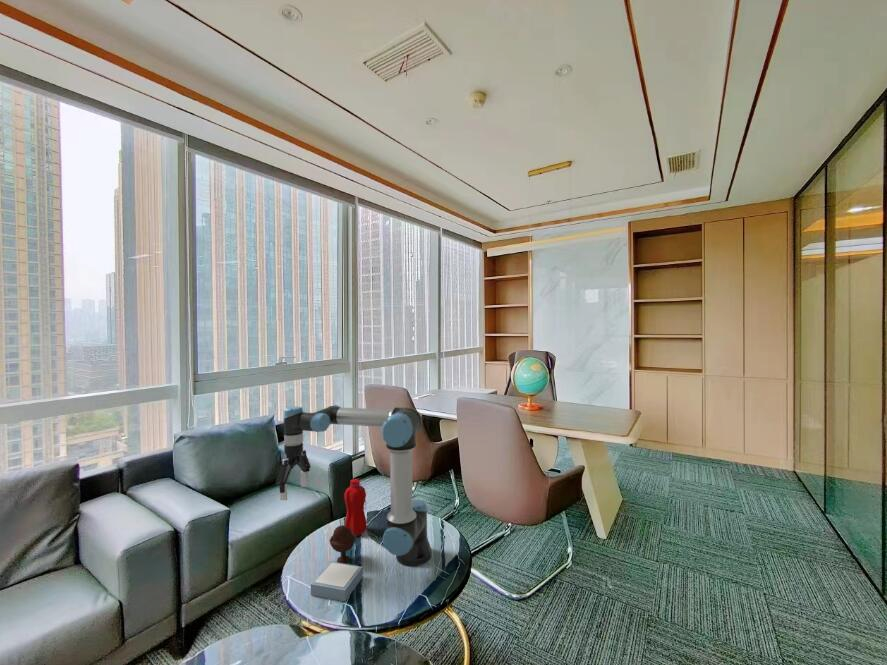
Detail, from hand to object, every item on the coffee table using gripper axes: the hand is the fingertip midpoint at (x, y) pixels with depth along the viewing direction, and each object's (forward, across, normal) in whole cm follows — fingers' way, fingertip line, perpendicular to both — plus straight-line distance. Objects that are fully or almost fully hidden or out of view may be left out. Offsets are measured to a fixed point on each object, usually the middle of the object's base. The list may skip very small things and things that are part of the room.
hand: (294, 492), depth 163 cm
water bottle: (+28, -26, +16) cm, 41 cm away
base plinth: (+28, +11, +27) cm, 41 cm away
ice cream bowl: (+28, -4, +21) cm, 35 cm away
